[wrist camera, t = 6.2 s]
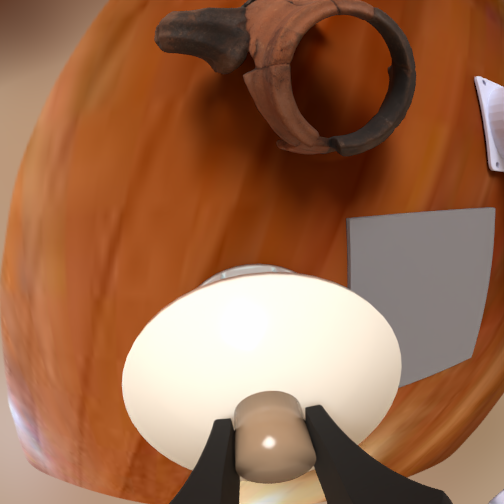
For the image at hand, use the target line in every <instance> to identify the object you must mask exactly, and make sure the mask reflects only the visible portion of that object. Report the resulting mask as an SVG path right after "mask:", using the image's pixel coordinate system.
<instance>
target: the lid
mask: <svg viewBox="0 0 504 504" xmlns="http://www.w3.org/2000/svg"><path fill="white" fill-rule="evenodd" d="M401 368H402V366H401V353H400V349H399V344H398V341H397V339H396V336H395V334H394V332H393V330H392V328H391V326H390V325H389V324H388V322H387V321H386V319H385V318H384V317H383V316H382V315H381V314H380V313H379V312H378V311H377V310H376V309H375V308H374V307H373V306H372V305H371V304H370V303H369V302H368V301H367V300H366V299H364V298H363V297H361V296H360V295H358V294H357V293H355V292H354V291H352V290H351V289H348V288H346V287H344V286H342V285H340V284H338V283H335V282H333V281H330V280H326V279H323V278H319V277H316V276H312V275H305V274H299V273H292V272H261V273H251V274H243V275H238V276H234V277H229V278H224V279H220V280H217V281H215V282H212V283H209V284H206V285H203V286H200V287H198V288H196V289H194V290H192V291H190V292H188V293H186V294H184V295H182V296H180V297H178V298H177V299H176V300H174V301H173V302H171V303H170V304H168V305H167V306H165V307H164V308H163V309H162V310H160V311H159V312H158V313H157V314H156V315H155V316H154V317H153V318H152V319H151V320H150V321H149V322H148V323H147V325H146V326H145V327H144V329H143V330H142V331H141V332H140V334H139V335H138V337H137V339H136V340H135V342H134V344H133V346H132V348H131V350H130V352H129V354H128V356H127V359H126V362H125V366H124V370H123V378H122V390H123V399H124V402H125V406H126V409H127V412H128V414H129V416H130V418H131V420H132V422H133V424H134V425H135V427H136V428H137V430H138V431H139V432H140V434H141V435H142V436H143V437H144V438H145V439H146V440H147V442H148V443H149V444H150V445H152V446H153V447H154V448H155V449H156V450H157V451H159V452H160V453H161V454H163V455H164V456H166V457H167V458H169V459H170V460H172V461H174V462H176V463H177V464H179V465H181V466H183V467H186V468H188V469H190V470H193V469H194V467H195V466H196V464H197V462H198V460H199V458H200V456H201V454H202V452H203V450H204V447H205V445H206V443H207V440H208V438H209V435H210V432H211V429H212V426H213V423H214V421H215V420H216V419H227V418H231V421H232V424H233V428H234V436H235V468H236V472H237V473H238V475H239V476H240V481H251V482H256V483H280V482H285V481H289V480H292V479H295V478H297V477H299V476H301V475H303V474H305V473H306V472H309V471H312V470H314V469H315V468H314V464H315V462H316V454H315V451H314V447H313V444H312V441H311V438H310V434H309V431H308V428H307V425H306V421H305V407H310V406H315V405H322V406H323V408H324V409H325V411H326V412H327V413H328V414H329V416H330V417H331V418H332V419H333V421H334V422H335V423H336V424H337V425H338V426H339V427H340V429H341V430H342V431H343V432H344V433H345V434H346V435H347V436H348V437H349V438H350V439H351V440H352V441H353V442H354V443H356V444H357V445H358V444H360V443H361V442H362V441H363V440H364V439H365V438H366V437H368V436H369V434H370V433H371V432H372V431H373V430H374V429H375V428H376V427H377V426H378V424H379V423H380V422H381V421H382V419H383V418H384V416H385V415H386V413H387V412H388V410H389V408H390V406H391V405H392V402H393V400H394V398H395V395H396V393H397V390H398V386H399V382H400V377H401Z"/></svg>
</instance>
